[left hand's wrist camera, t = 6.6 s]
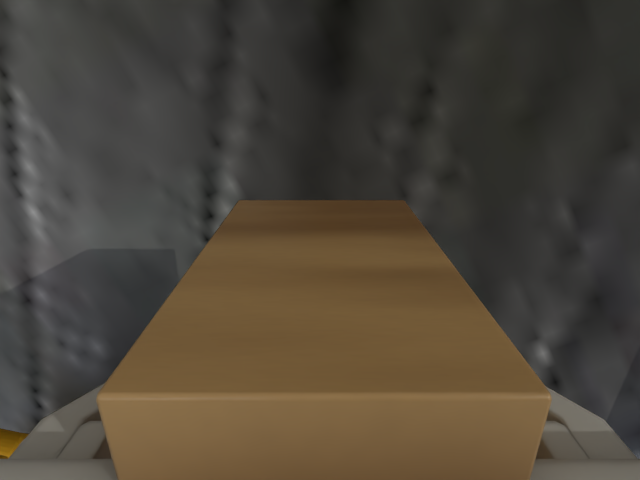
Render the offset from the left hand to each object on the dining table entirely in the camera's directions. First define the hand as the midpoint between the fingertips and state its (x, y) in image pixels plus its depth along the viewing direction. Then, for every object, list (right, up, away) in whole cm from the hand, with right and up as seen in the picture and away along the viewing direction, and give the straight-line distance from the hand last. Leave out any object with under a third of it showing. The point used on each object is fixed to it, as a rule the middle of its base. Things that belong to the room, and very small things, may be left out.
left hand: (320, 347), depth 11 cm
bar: (0, -7, +6) cm, 9 cm away
